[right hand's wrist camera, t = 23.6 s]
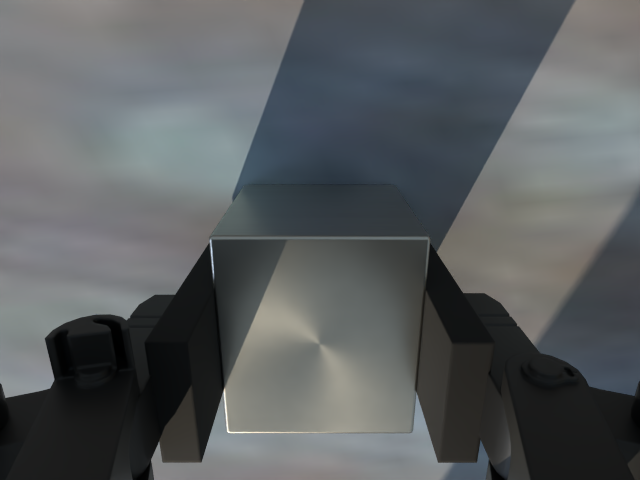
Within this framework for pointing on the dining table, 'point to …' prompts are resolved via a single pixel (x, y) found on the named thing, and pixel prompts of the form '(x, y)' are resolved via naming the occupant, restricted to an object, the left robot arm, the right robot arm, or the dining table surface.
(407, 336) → the metal block
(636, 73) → the dining table surface
